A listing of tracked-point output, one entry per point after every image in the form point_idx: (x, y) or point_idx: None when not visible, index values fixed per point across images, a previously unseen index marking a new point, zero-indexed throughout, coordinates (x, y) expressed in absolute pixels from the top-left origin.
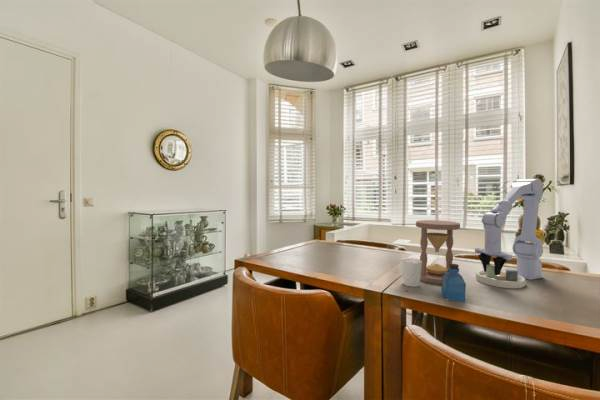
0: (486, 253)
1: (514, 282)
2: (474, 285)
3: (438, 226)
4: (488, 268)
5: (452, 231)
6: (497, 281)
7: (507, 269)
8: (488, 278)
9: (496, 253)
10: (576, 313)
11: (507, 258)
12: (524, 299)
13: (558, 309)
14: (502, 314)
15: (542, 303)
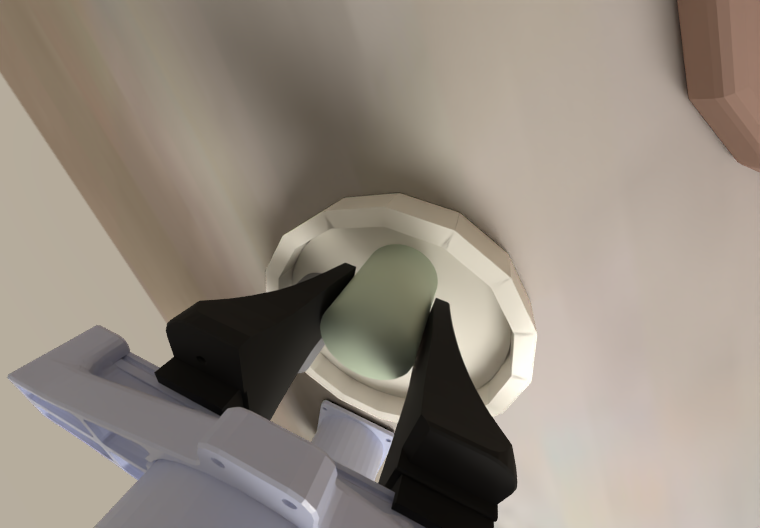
0: (260, 429)
1: (274, 254)
2: (479, 61)
3: None
4: (388, 291)
5: None
6: (338, 207)
7: (306, 359)
8: (396, 214)
9: (121, 430)
10: (24, 60)
11: (85, 341)
12: (165, 54)
13: (53, 42)
14: None
15: (115, 74)
